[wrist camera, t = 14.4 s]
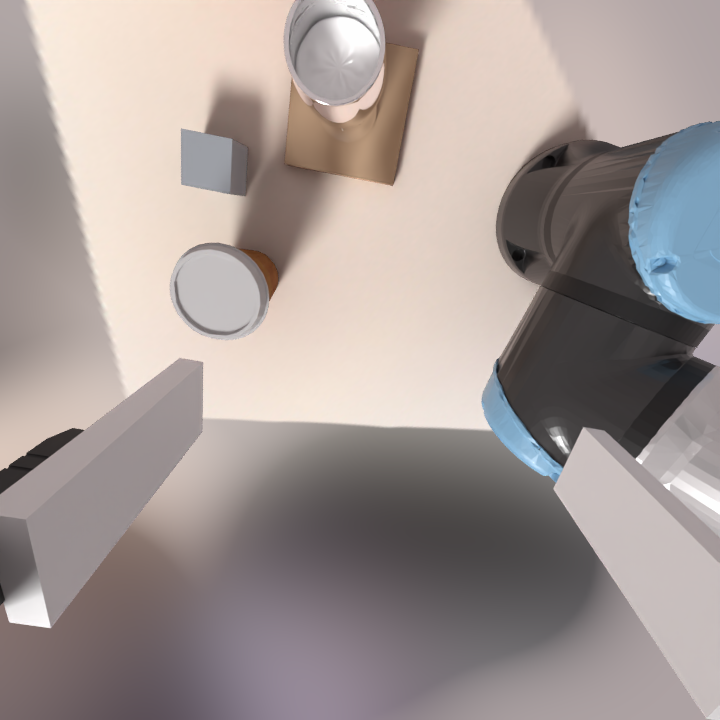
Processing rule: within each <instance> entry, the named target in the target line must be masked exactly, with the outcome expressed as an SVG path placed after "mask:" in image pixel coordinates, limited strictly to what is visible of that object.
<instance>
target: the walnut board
mask: <svg viewBox="0 0 720 720" xmlns="http://www.w3.org/2000/svg"><path fill="white" fill-rule="evenodd" d="M385 48H386V76H385V82H384V87H383V91H382V94H381V97H380V99H379V101H378V103H377V116H376V120H375V123H374V125H373V127H372V129H371V130H370V131H369V133H368V134H367V135H366V136H365V137H363V138H362V139H360V140H358V141H355V142H351V143H345V142H340V141H337V140H335V139H334V138H332V137H331V136H330V135H329V134H328V133H327V132H326V131H325V130H324V128H323V126H322V124H321V122H320V120H319V119H317V118H316V117H315V116H314V115H313V114H312V113H311V112H310V111H309V109H308V108H307V107H306V105H305V104H304V103H303V101H302V99H301V98H300V96H299V93H298V91H297V89H296V87H295V85H294V82H293V79H292V81H291V93H290V104H289V116H288V128H287V139H286V151H285V163H284V164H286V165H289V166H294V167H299V168H304V169H309V170H315V171H320V172H325V173H330V174H335V175H340V176H345V177H351V178H356V179H361V180H366V181H371V182H376V183H381V184H386V185H392V186H393V183H394V178H395V173H396V167H397V162H398V157H399V152H400V147H401V141H402V136H403V131H404V126H405V120H406V115H407V110H408V105H409V99H410V94H411V89H412V84H413V78H414V73H415V68H416V63H417V57H418V52H419V50H418V49H414V48H409V47H404V46H400V45H395V44H390V43H385Z"/></svg>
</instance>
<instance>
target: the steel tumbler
mask: <svg viewBox="0 0 720 720" xmlns="http://www.w3.org/2000/svg"><path fill="white" fill-rule="evenodd" d="M284 53H285V59H286V63H287V66H288V69H289V71H290V73H291V76H292V79H293V82H294V85H295V87H296V89H297V91H298V93H299V96H300V98H301V99H302V101H303V103H304V104H305V105H306V107H307V108H308V109H309V111H310V112H311V113H312V114H313V115H314V116H315V117H316V118H317V119H319V120H320V122H321V124H322V126H323V128H324V130H325V131H326V132H327V133H328V134H329V135H330V136H331V137H332V138H334V139H335V140H337V141H340V142H345V143H351V142H355V141H358V140H360V139H362V138H363V137H365V136H366V135H367V134H368V133H369V131H370V130H371V129H372V127H373V125H374V123H375V120H376V116H377V103H378V101H379V99H380V97H381V94H382V91H383V87H384V82H385V76H386V48H385V32H384V26H383V22H382V19H381V16H380V14H379V11H378V9H377V7H376V5H375V4H374V2H373V1H372V0H295V1H294V3H293V5H292V7H291V9H290V11H289V13H288V16H287V19H286V23H285V29H284Z"/></svg>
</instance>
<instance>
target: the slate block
mask: <svg viewBox="0 0 720 720" xmlns="http://www.w3.org/2000/svg"><path fill="white" fill-rule="evenodd" d="M247 158H248V147H246V146H244V145H243V144H241V143H239V142H237V141H235V140H233V139H230V138H225V137H220V136H215V135H211V134H206V133H201V132H196V131H191V130H186V129H181V185H186V186H191V187H196V188H201V189H206V190H212V191H217V192H222V193H227V194H233V195H240V196H245V194H246V176H247Z"/></svg>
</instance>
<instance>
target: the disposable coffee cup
mask: <svg viewBox="0 0 720 720" xmlns="http://www.w3.org/2000/svg"><path fill="white" fill-rule="evenodd" d="M277 285H278V272H277V269H276V267H275V265H274V263H273V262H272V261H271V259H270V258H269V257H268V256H266V255H265V254H263V253H261V252H259V251H254V250H245V249H237V248H235V247H232V246H230V245H226V244H221V243H205V244H200V245H197V246H195V247H193V248H191V249H189V250H188V251H187V252H186V253H184V254H183V255H182V256H181V258H180V259H179V260H178V262H177V264H176V266H175V268H174V270H173V273H172V276H171V281H170V294H171V300H172V302H173V305H174V308H175V309H176V311H177V313H178V315H179V316H180V317H181V319H182V320H183V321H184V322H185V323H186V324H187V325H188V326H189V327H190V328H191V329H193V330H194V331H196V332H198V333H199V334H201V335H204V336H207V337H210V338H214V339H221V340H234V339H239V338H242V337H245V336H247V335H249V334H250V333H252V332H254V331H255V330H256V329H257V328H258V327H259V326H260V324H261V323H262V322H263V320H264V318H265V316H266V314H267V311H268V307H269V301H270V299H271V297H272V295H273V293H274V292H275V290H276V288H277Z"/></svg>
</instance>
